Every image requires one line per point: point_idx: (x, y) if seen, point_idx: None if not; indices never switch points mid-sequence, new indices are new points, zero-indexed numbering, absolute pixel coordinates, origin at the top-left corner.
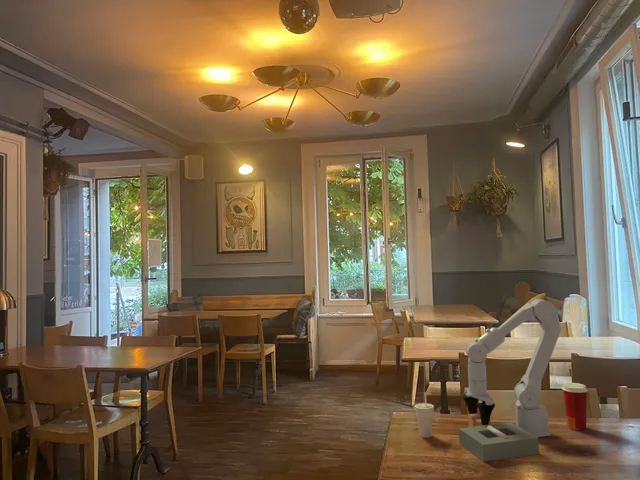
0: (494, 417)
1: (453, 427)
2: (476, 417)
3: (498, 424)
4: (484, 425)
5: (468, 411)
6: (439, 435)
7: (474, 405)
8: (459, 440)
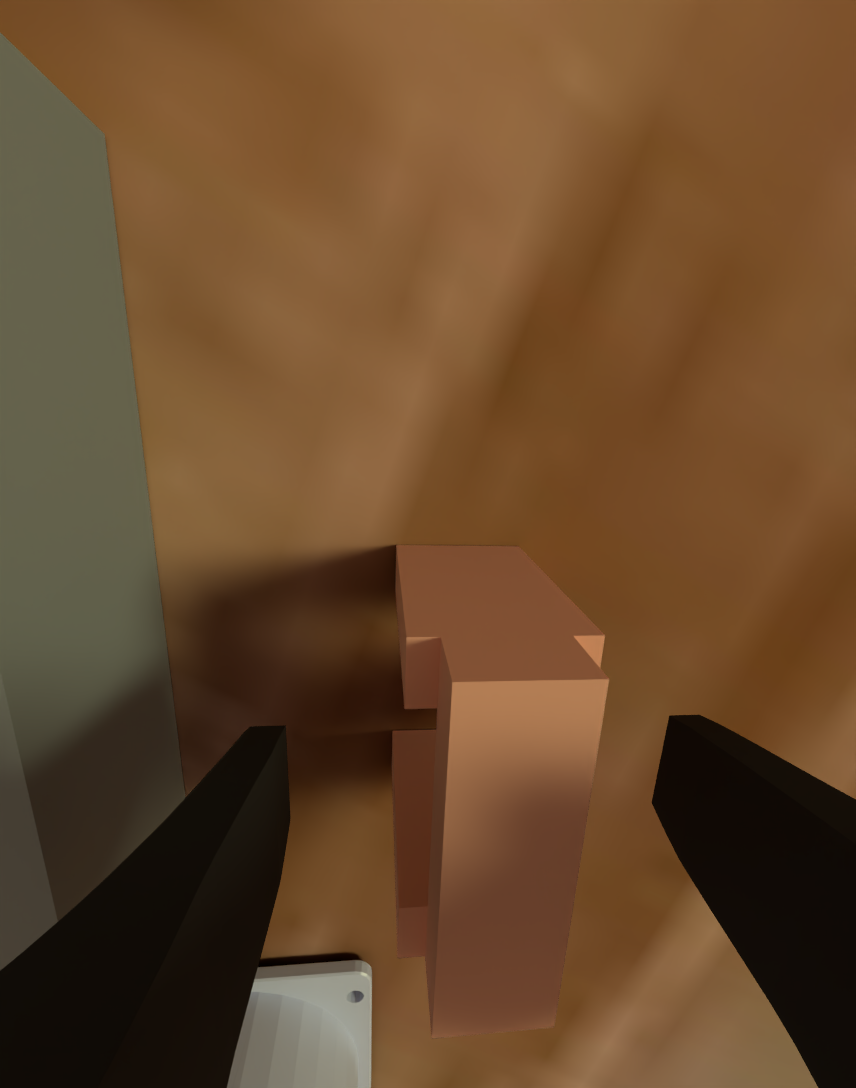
0: None
1: (750, 443)
2: (437, 762)
3: (22, 950)
4: (7, 707)
5: (797, 771)
6: (577, 14)
7: (850, 1033)
8: (65, 97)
